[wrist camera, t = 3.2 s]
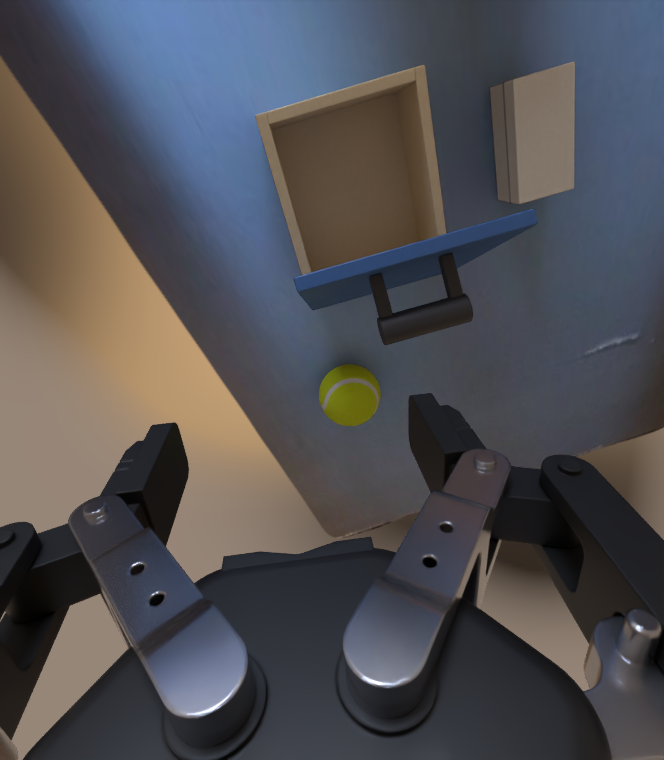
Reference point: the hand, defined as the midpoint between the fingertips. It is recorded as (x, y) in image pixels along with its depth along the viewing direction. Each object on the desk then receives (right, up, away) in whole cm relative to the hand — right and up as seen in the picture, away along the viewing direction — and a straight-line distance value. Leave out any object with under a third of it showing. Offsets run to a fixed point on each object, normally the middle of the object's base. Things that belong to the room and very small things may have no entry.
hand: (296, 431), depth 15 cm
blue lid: (+5, +10, +14) cm, 18 cm away
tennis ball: (+3, +2, +35) cm, 35 cm away
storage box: (+3, +20, +26) cm, 32 cm away
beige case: (+19, +24, +25) cm, 39 cm away
